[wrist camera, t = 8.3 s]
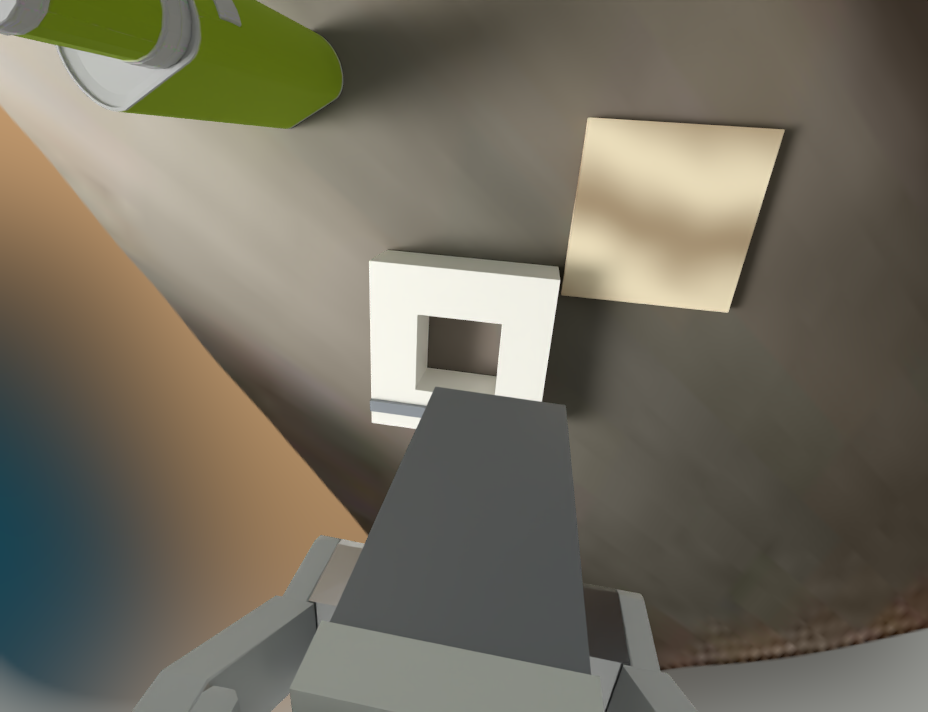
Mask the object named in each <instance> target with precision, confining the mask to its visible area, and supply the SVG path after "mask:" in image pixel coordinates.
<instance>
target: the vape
mask: <svg viewBox="0 0 928 712" xmlns="http://www.w3.org/2000/svg"><path fill="white" fill-rule="evenodd" d="M0 34H3V35H14V36H19V37H23V38H27V39H32V40H36V41H41V42H45V43H49V44H54V45H55V46H56V49H57V52H58V54H59V56H60V59H61V61H62V63H63V64H64V66H65V68H66V70H67V71H68V73H69V75H70V76H71V78H72V79H73V80H74V82H75V83H76V84H77V86H78V87H79V88H80V89H81V90H82V91H83V92H84V93H85V94H86V95H87V96H88V97H89V98H90V99H91V100H92V101H94V102H95V103H97V104H98V105H100V106H101V107H103V108H105V109H108V110H111V111H117V112H126V113H136V114H146V115H156V116H166V117H176V118H185V119H195V120H205V121H215V122H225V123H235V124H244V125H254V126H264V127H274V128H284V129H290V128H292V127H294V126H295V125H297V124H299V123H300V122H302V121H303V120H305V119H306V118H308V117H309V116H311V115H313V114H314V113H316V112H317V111H319V110H320V109H322V108H323V107H325V106H326V105H328V104H330V103H331V102H333V101H334V100H336V99H337V98H338V97H339V95H340V94H341V91H342V88H343V72H342V67H341V64H340V61H339V58H338V56H337V54H336V52H335V51H334V49H333V48H332V46H331V45H330V44H329V43H328V41H327V40H326V39H324V38H323V37H322V36H320V35H319V34H317V33H315V32H313V31H312V30H310V29H308V28H306V27H304V26H302V25H300V24H299V23H297V22H295V21H293V20H291V19H289V18H287V17H286V16H284V15H282V14H280V13H278V12H276V11H274V10H273V9H271V8H269V7H267V6H265V5H263V4H262V3H260V2H258V1H256V0H0Z"/></svg>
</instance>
